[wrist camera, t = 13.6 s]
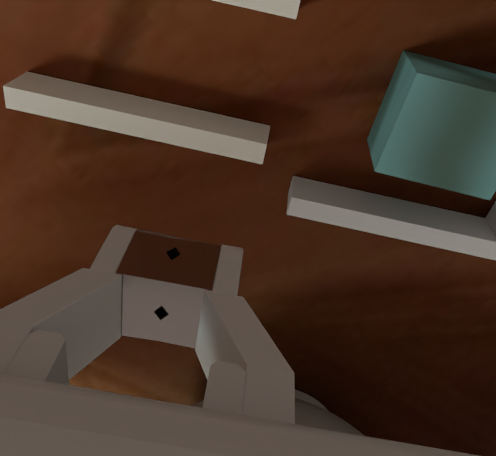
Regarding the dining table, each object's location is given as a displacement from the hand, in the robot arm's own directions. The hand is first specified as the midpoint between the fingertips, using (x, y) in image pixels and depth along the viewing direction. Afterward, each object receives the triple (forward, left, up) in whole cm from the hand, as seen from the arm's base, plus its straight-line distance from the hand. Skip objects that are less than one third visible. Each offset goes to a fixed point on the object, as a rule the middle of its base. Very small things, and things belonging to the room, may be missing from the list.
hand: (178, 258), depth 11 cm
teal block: (+10, 0, -17) cm, 20 cm away
